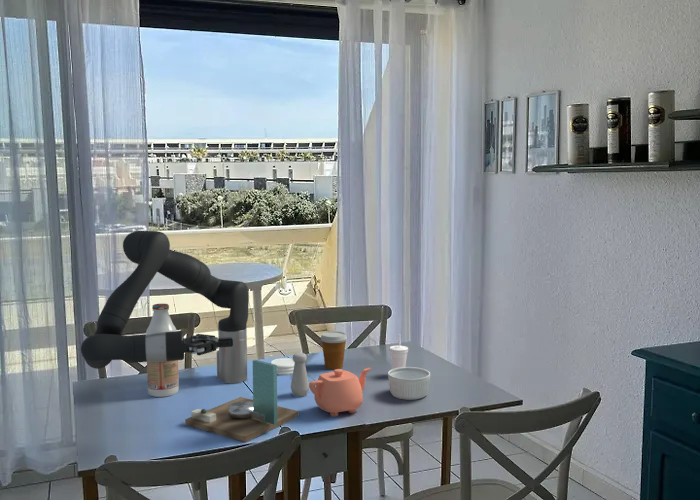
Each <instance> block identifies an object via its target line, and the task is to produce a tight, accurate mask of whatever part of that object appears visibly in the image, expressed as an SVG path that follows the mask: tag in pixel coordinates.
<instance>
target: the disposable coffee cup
mask: <svg viewBox="0 0 700 500" xmlns="http://www.w3.org/2000/svg"><path fill="white" fill-rule="evenodd" d="M347 340H348V337H347V333H346V332H343V331H337V330H336V331H334V330H332V331H324V332H322V333H321V336H320V342H321V345H322V354H323V362H324V369H326V370H333V371H334V370H335V369H343V367H344V358H345V351H346V342H347Z"/></svg>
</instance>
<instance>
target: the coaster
mask: <svg viewBox="0 0 700 500" xmlns="http://www.w3.org/2000/svg"><path fill="white" fill-rule="evenodd" d="M269 363H271V364H275V365H277V376H288V375H293V370H294V364H295V362H294V361H293V358H288V357H285V358H284V357H283V358H282V357H280V358H274V359H272V360H271V361H270V362H269Z"/></svg>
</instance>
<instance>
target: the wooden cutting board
mask: <svg viewBox="0 0 700 500" xmlns="http://www.w3.org/2000/svg"><path fill="white" fill-rule="evenodd" d="M241 401H249V402H253V399H250V398H247V397H243V396H240V397H238V398H234V399H232V400H229V401H227V402H225V403H222V404H220V405H217V406H215V407H212V408H209V409H208V410H207V409H206V408H202V409H200V408H196V409H194V410H191V412H190V413H191V416H190V417H187V418H185V423H184V424H185V426H187V427H192V428H195V429H199V430H202V431H207V432H210V433H211V434H216V435H219V436H222V437H223V436H224V437H226V438H229V439H233V440H237V441H240V442H243V443H247V442H250V441H251V439H252V440H253V438H254V439H256V438H258V437H259V436H261V435H264V434H266V433H268V432H269V431H271V430H273V429H275V428H278V427H279V426H282V425H284V424H286V423H288V422H290V421H292V420H294V419H297V417H298V418H299V416H300V415H299V414H300V413H299V410H295V409H291V408H288V407H284V406H281V405H277V424H275V425H273V424H270V423H267V422H264V421H261V420H258V419H255V418H252V417H249V418H233V417H230V416H229V415H228V406H229V405H230V404H232V403H235V402H241ZM255 437H256V438H255Z"/></svg>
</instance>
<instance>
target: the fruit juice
mask: <svg viewBox="0 0 700 500" xmlns="http://www.w3.org/2000/svg"><path fill="white" fill-rule="evenodd" d="M169 310H170V305H169V304H168V303H156V304H152V311H153V313H152V317H151V320H150V322H149V324H148V327H147V329H146V331H145V334H152V333H159V332H174V331H177V328H176V326H175V325H174V323H173V321H172V318H171V315H170V314H169ZM146 377H147V379H146V380H147V393H148V395H149V396H151V397H155V398H164V397H170V396H173V395H177V394H178V393H179V389H180V385H179V384H180V383H179V381H180V380H179V379H180V378H179V360H176V361H164V362H146Z"/></svg>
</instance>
